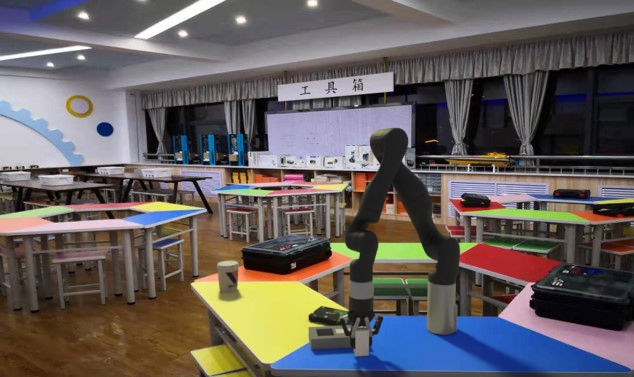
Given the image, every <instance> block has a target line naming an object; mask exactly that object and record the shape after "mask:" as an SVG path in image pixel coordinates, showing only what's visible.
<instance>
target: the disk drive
mask: <svg viewBox="0 0 634 377" xmlns="http://www.w3.org/2000/svg"><path fill="white" fill-rule="evenodd" d="M348 311H349V310H345V309H339V308H334V307H329V306H324V305H320V306H318V308H316V309H314V311H313V312H311V313H309V314H308V321H309V320H310V322H312V321H314V322H313V323H317V322H318V324H321V325H327V326H341V322H340V319H339V316H345V315H347V313H348ZM345 324H346V325H351V324H352V322H351V321H350V320H349V318H348V319H347V323H345Z"/></svg>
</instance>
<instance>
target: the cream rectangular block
mask: <svg viewBox="0 0 634 377" xmlns="http://www.w3.org/2000/svg"><path fill="white" fill-rule="evenodd" d="M352 349H353V348H352ZM353 352H354V355H355V357H365V356H366V357H368V356H370V354H369V353H370V348H369V330H367V328H366V327H363V326H361V327H358V329H357V331H355V349H353Z"/></svg>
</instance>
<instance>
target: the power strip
mask: <svg viewBox="0 0 634 377" xmlns="http://www.w3.org/2000/svg"><path fill="white" fill-rule="evenodd" d="M346 327H347V330H349V331H350V329H351V324H349V325H346ZM308 341H309V345H310V351H312V350H313V351H314V350H315V351H316V350H329V349H330V350H331V349H332V350H333V349H348V348H349V349H353V348H352V347H351V345H350V337H349V336H345V333H344V330H343V328H342V325H341V326H331V325H327V326H326V325H325V326H311V327H310V326H309V327H308Z"/></svg>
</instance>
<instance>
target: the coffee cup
mask: <svg viewBox="0 0 634 377" xmlns="http://www.w3.org/2000/svg"><path fill="white" fill-rule="evenodd" d="M239 265H240V264H239V262H238V261H236V260H223V261H219V262H218V263H217V264H216V267H217V279H218V285H219V286H218V287H219V291H220V292H221V293H233V292H236V291H238V286H239V284H238V283H239V282H238V280H239Z"/></svg>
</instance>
